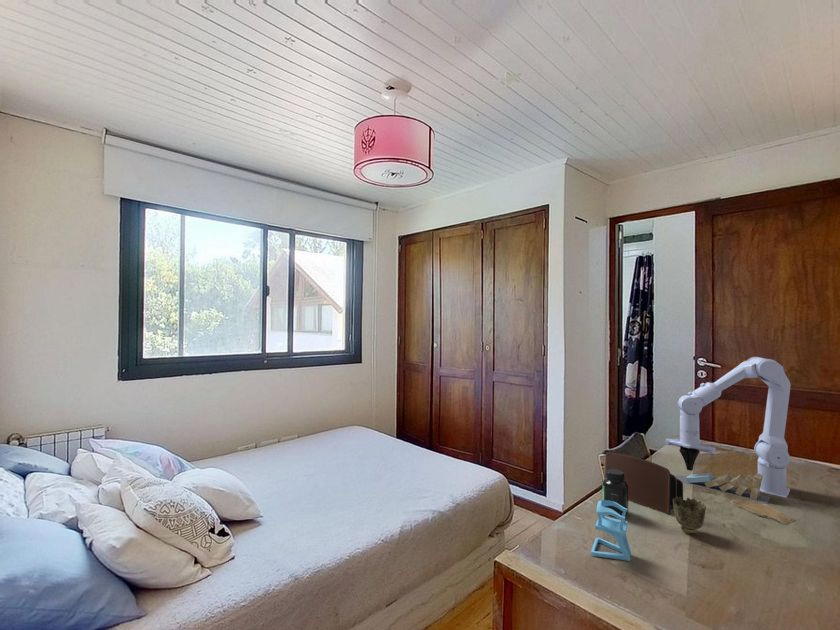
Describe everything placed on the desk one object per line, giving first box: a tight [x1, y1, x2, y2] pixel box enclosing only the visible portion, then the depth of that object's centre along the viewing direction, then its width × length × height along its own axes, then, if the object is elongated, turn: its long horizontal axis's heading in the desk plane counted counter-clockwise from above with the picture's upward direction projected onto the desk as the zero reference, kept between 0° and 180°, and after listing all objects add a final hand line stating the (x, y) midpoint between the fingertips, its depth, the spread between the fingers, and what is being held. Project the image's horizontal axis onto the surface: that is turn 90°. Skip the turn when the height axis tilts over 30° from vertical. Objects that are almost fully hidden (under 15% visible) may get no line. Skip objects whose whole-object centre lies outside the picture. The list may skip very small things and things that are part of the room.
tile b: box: [719, 473, 746, 492], centre depth 133 cm, size 2×5×7 cm
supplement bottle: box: [602, 469, 629, 518], centre depth 120 cm, size 7×7×12 cm
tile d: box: [750, 472, 763, 500], centre depth 129 cm, size 2×5×7 cm, turn 133°
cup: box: [673, 496, 707, 536], centre depth 109 cm, size 8×7×8 cm
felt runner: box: [674, 474, 771, 505], centre depth 137 cm, size 7×26×1 cm, turn 43°
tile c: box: [735, 472, 755, 496], centre depth 131 cm, size 2×5×7 cm, turn 133°
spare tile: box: [686, 472, 715, 483], centre depth 140 cm, size 2×5×7 cm
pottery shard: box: [730, 498, 797, 526], centre depth 120 cm, size 8×16×2 cm, turn 12°
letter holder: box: [604, 452, 684, 516], centre depth 129 cm, size 10×20×14 cm, turn 36°
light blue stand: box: [590, 499, 632, 562], centre depth 99 cm, size 8×8×12 cm
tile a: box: [705, 473, 733, 488], centre depth 136 cm, size 2×5×7 cm
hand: (689, 469), depth 142 cm, fingers closed
